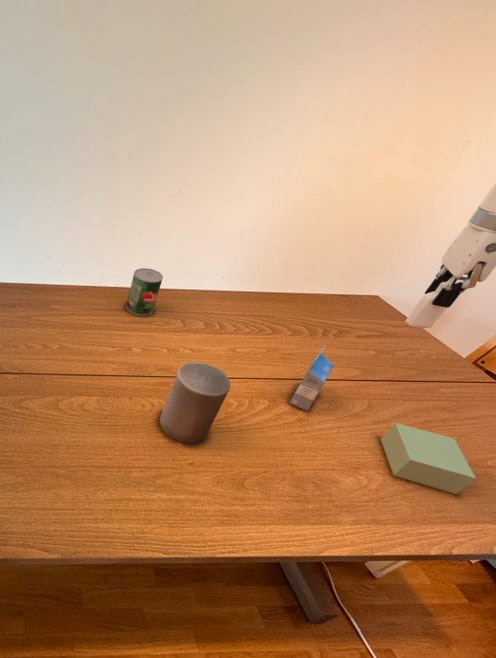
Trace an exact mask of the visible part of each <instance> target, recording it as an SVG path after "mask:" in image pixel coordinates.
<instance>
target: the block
mask: <svg viewBox="0 0 496 658" xmlns="http://www.w3.org/2000/svg"><path fill="white" fill-rule="evenodd" d="M380 441H381V444H382V448H383V450H384V453H385V455H386V458H387V461H388V463H389V466H390V469H391V472H392V475H393V477H397V478H400V479H403V480H406V481H411V482H413V483H418V484H420V485H424V486H427V487H430V488H434V489H436V490H441V491H443V492H448V493H451V494H454V495H457V494H459V492H461V491H462V490H463V489H464V488H466V487H467V486H469V484H470V483H472V482H473V481H474V480H476V479H477V478H476V476H475V474H474V472H473V471H472V467H470V465H469V463H468V461H467V459H466V457H465V455H464V454H463V452H462V450H461V448H460V446H459V444H458V443H457V440H456V439H455V438H454V437H450V436H446V435H443V434H439V433H435V432H431V431H428V430H424V429H422V428H421V429H420V428H416V427H413V426H409V425H405V424H401V423H398V422H394V423H393V424H392V425H391V426H390V427H389V429H388V430H386V432H385V433H384V434H383V435H382V436H381V437H380Z"/></svg>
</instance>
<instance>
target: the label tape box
mask: <svg viewBox="0 0 496 658" xmlns="http://www.w3.org/2000/svg"><path fill="white" fill-rule="evenodd" d="M326 346H327V344H324V346H323V347H322V348H321V349H320V350H319V352H318V353H317V354H316V357H314V360H313V361H312V362H311V364H310V366H309V368H308V370H306V373H305V374H304V376H303V378H302V379H301V381H300V383H299V385H298V386H297V388H296V390H295V392H294V394H293V395H292V397H291V400H289V404H290V405H292V406H294V407H297V408H299V409H302V410H304V411H305V412H306V411H307V412H308V410H310V407H311V405H312V404H313V402H314V400H316V397H317V396H318V394H319V393H320V391H321V390H322V388H323V386H324V384H325V383H326V381H327V380H328V378H329V375H330V373H331V371H332V369H333V368H334V363H333V362H331V361H330V360H329V358H327V357H326V356H325V355H323V354H322V352H323V350H324V349H325V347H326Z"/></svg>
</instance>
